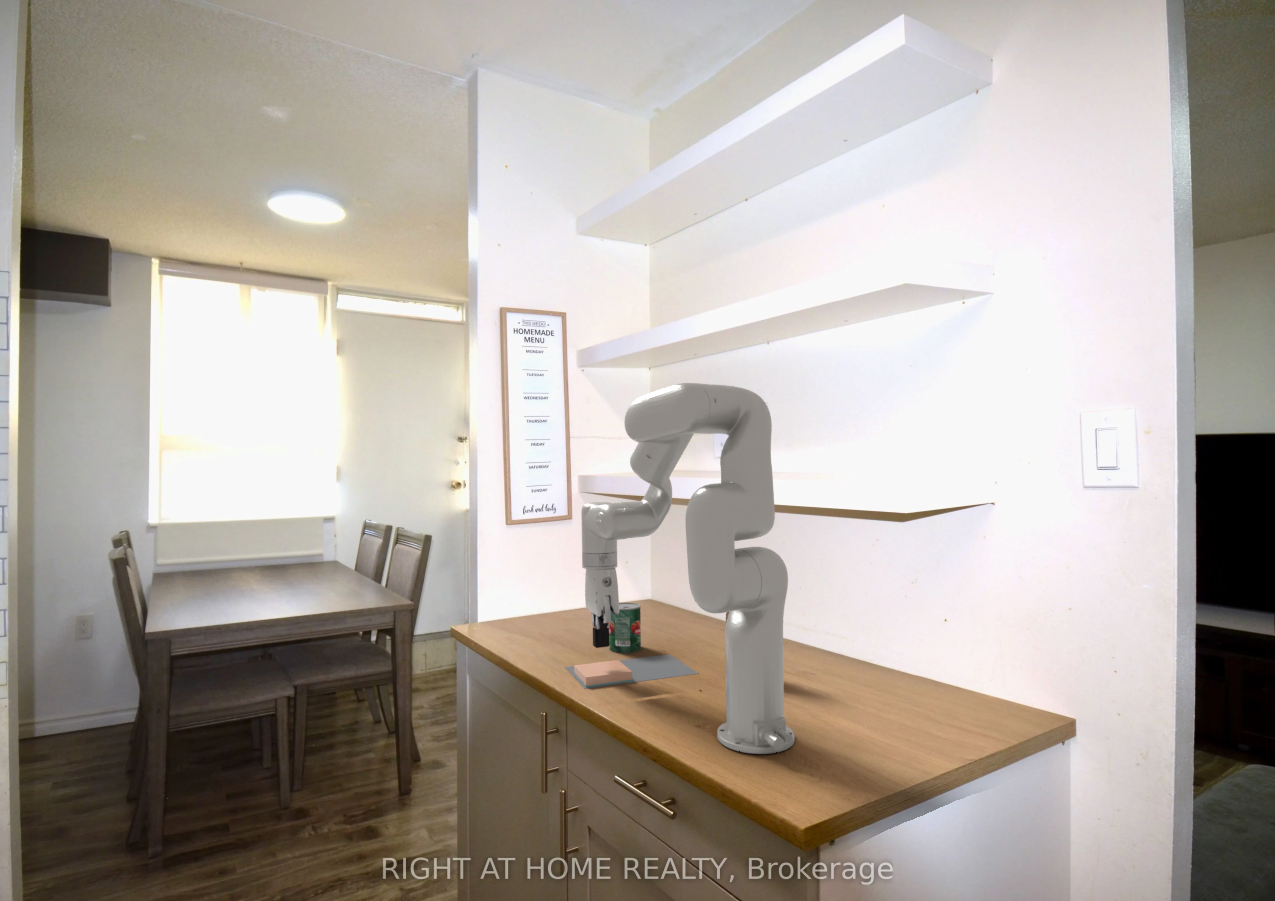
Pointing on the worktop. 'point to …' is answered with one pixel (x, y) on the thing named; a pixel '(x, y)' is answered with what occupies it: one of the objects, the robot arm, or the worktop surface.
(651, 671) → the mat
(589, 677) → the tile
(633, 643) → the canned tomato
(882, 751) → the worktop surface
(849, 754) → the worktop surface
